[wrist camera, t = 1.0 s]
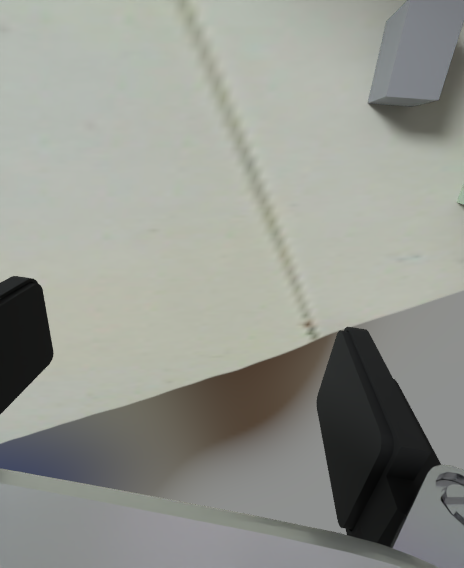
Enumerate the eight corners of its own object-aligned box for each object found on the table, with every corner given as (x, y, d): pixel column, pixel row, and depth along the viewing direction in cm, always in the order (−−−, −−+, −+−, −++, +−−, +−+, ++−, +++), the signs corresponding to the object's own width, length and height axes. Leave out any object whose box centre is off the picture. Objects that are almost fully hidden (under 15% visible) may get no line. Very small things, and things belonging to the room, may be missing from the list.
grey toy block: (386, 21, 26) (410, -4, 21) (435, 24, 26) (470, -1, 21) (367, 103, 29) (385, 96, 24) (411, 106, 28) (438, 100, 24)
